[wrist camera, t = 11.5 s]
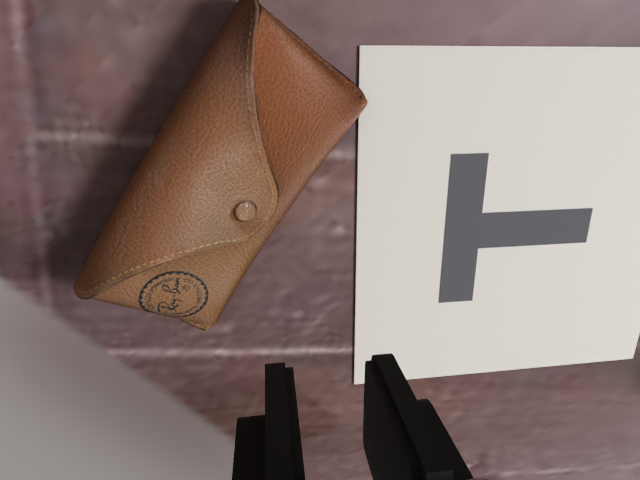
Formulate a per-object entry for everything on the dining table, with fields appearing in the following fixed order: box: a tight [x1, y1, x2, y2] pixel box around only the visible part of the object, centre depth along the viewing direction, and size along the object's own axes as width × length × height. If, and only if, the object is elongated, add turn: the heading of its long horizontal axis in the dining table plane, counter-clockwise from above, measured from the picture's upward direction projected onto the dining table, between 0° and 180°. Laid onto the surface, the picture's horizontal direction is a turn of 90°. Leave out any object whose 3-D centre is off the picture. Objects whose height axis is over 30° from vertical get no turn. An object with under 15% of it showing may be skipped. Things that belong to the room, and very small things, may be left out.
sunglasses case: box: [74, 0, 367, 330], centre depth 22 cm, size 18×7×7 cm
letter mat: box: [354, 45, 640, 384], centre depth 27 cm, size 22×22×1 cm
